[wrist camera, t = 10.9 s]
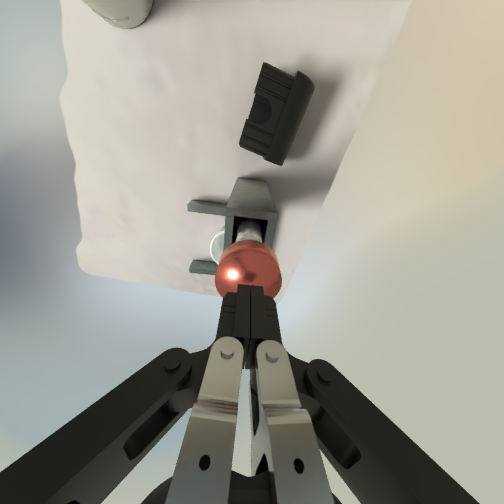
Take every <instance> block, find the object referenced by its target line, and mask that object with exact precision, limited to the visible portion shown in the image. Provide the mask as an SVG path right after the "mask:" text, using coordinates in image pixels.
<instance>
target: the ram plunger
mask: <svg viewBox="0 0 504 504" xmlns="http://www.w3.org/2000/svg"><path fill="white" fill-rule="evenodd" d="M238 284H244V285H250V286H251V285H255V286H263V290H264V295H267V296H271V297H272V298H274V297H275V296H276V295H277V294H278V292H279V290H280V288H281V284H282V278H281V273H280V269H279V264H278V260H277V257H276V255H275V253H274V251H273V250H272V249H271V248H270V247H269V246H267V245H266V244H264V243H262V238H261V229H260V221H259V219H256V218H248V217H241V218H240V220H239V225H238V232H237V239H236V242H235V243H233V244H231V245H230V246H228V247H227V248H226V249H225V250H224V252H223V253H222V255H221V257H220V261H219V265H218V268H217V272H216V276H215V285H216V288H217V291H218V292H219V294H220V295H221V296H222V297H224V296H225V295H226V294H227V292H235V293H237V286H238Z"/></svg>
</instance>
